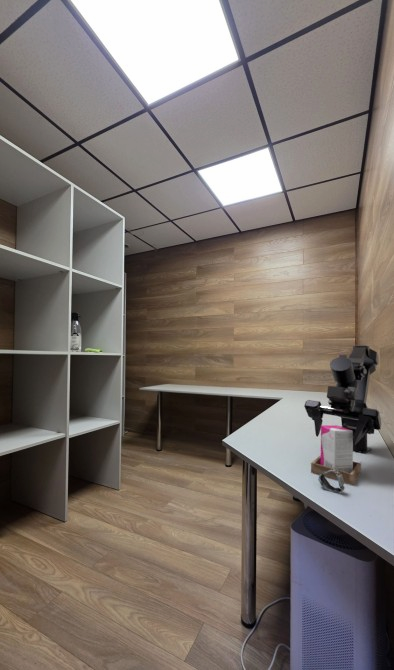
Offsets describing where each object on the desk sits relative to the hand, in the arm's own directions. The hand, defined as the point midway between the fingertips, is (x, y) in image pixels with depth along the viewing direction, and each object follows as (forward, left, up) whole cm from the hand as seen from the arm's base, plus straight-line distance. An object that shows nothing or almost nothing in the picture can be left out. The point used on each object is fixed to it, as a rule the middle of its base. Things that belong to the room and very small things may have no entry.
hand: (334, 439), depth 72 cm
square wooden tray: (-1, 0, -9) cm, 9 cm away
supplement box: (-2, 0, -9) cm, 9 cm away
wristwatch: (+9, +4, -9) cm, 14 cm away
